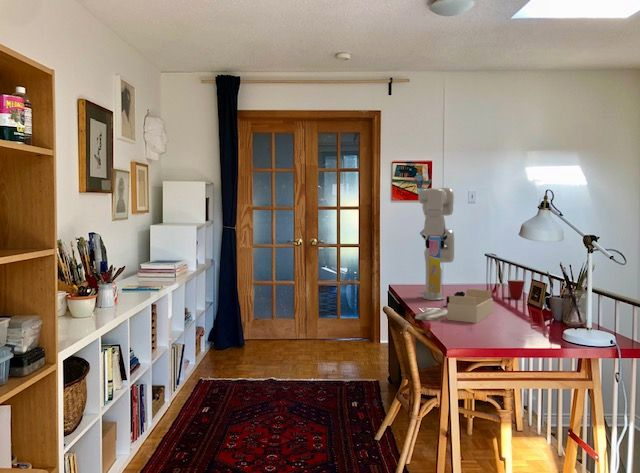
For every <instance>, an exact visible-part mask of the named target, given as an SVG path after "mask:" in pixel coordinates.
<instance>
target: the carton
mask: <svg viewBox="0 0 640 473" xmlns="http://www.w3.org/2000/svg"><path fill="white" fill-rule="evenodd" d="M465 290H466V292H465V296H464V297H462V296H454V295H448V296H449V303H448V304H447V306H446V308H447V309H446V310H447V316H446V317H447V318H446V319H447V320H448V321H455V322H466V323H474V324H477V323H480V322H481V321H483V320H484V319H486V318H488V317H489V316H491V315H492V314H493V312H494V310H493V308H494V307H493V306H494V299H493V298H492V290H489V289H476V288H466V289H465Z"/></svg>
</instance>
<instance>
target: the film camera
mask: <svg viewBox="0 0 640 473" xmlns="http://www.w3.org/2000/svg"><path fill="white" fill-rule="evenodd" d="M453 296H462V297H464V296H466V292H464V291H457V292H455V293H454V295H453ZM445 300H446V301H445V302H446V303H445V304H446V305H445V306H446V307H447V304H448V303H449V295H447V296H446V299H445Z"/></svg>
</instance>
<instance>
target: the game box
mask: <svg viewBox="0 0 640 473" xmlns="http://www.w3.org/2000/svg"><path fill="white" fill-rule="evenodd" d="M440 247H441V238H440V236H430V238H429V292H440V267H441V262H440Z"/></svg>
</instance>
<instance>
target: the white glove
mask: <svg viewBox="0 0 640 473" xmlns="http://www.w3.org/2000/svg"><path fill="white" fill-rule="evenodd" d="M446 317H447V309H441V308H429V309H427V310H426V311H423V312H420V313H418V314H416V315H415V316H414V319H415V320H423V321H429V322H430V321H432V322H437V321H440V320H443V318H446Z"/></svg>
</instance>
